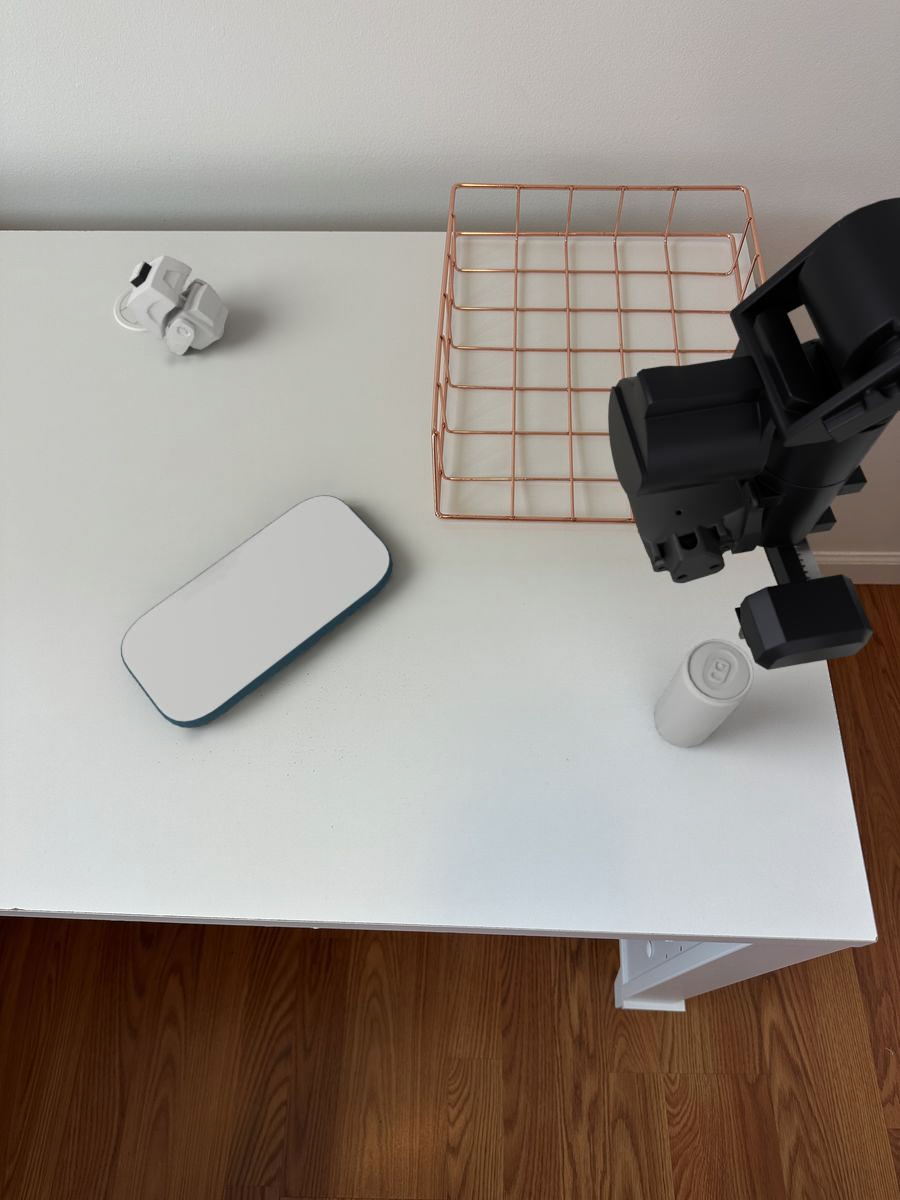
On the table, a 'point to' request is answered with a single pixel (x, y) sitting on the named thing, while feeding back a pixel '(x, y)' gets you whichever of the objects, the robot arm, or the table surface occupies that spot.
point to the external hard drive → (255, 610)
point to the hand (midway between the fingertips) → (725, 575)
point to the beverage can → (703, 692)
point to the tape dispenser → (176, 305)
